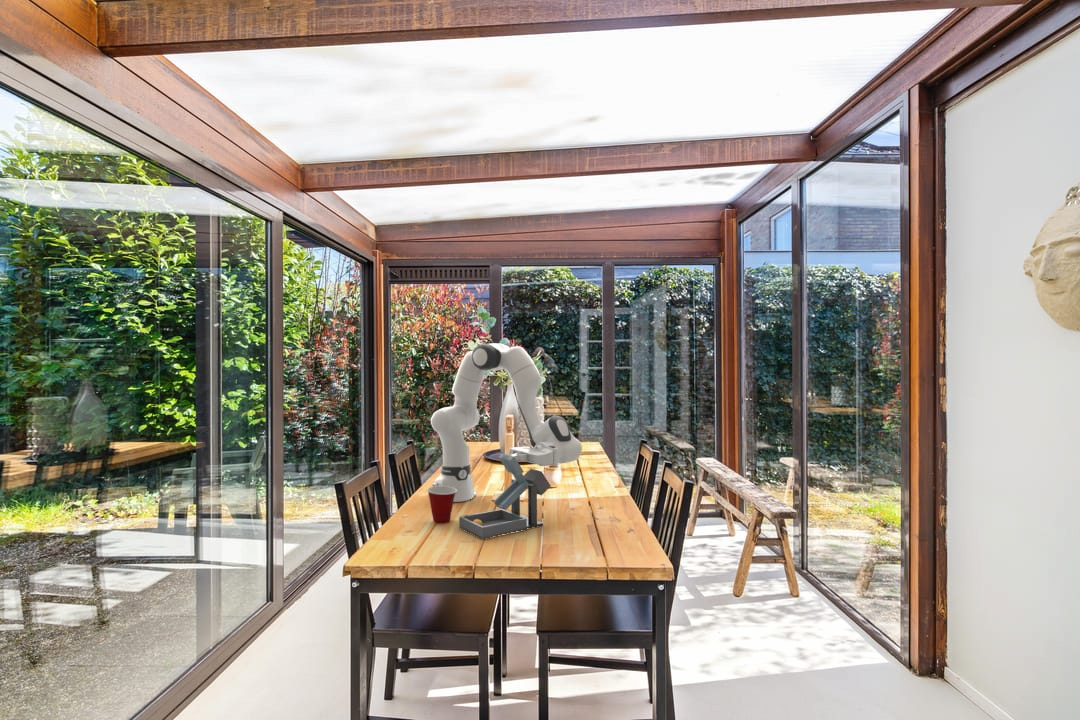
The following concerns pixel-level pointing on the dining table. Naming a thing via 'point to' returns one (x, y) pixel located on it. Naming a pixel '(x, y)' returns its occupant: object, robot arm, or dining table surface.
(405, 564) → the dining table surface
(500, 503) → the lever
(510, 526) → the tray
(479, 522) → the ball
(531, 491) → the lever stand
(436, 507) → the plastic cup
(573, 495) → the dining table surface
